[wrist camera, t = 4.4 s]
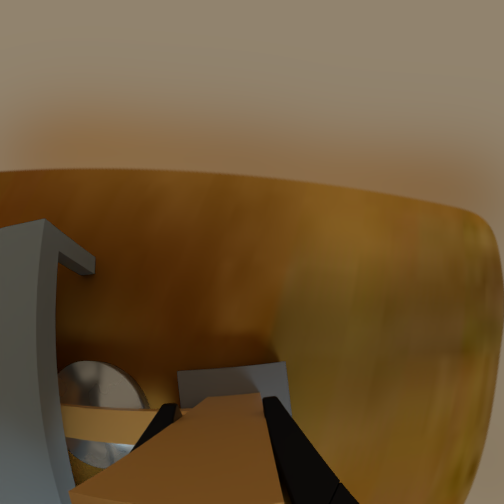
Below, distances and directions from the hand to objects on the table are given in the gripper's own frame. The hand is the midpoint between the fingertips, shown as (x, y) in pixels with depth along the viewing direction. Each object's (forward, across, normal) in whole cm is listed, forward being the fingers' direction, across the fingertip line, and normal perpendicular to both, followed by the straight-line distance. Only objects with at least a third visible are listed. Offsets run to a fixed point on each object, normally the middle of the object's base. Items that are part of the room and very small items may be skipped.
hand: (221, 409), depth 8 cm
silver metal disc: (+4, +8, +6) cm, 10 cm away
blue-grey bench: (+4, +12, +6) cm, 13 cm away
